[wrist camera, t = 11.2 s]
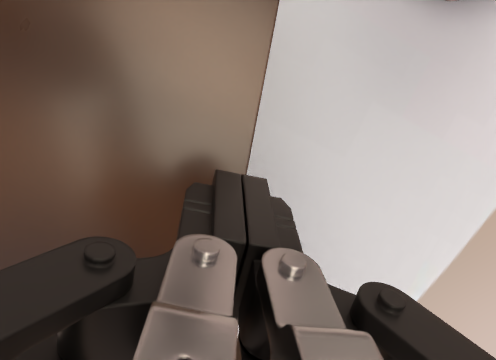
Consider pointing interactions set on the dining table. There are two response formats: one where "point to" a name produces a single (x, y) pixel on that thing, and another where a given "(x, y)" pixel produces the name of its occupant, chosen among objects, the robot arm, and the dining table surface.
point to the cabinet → (121, 114)
